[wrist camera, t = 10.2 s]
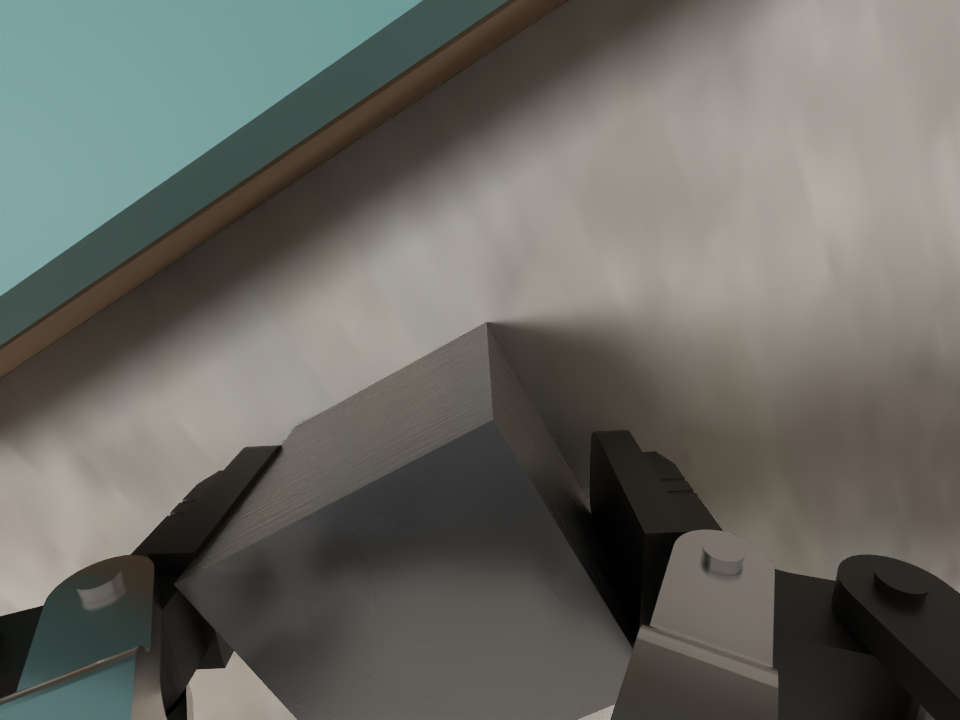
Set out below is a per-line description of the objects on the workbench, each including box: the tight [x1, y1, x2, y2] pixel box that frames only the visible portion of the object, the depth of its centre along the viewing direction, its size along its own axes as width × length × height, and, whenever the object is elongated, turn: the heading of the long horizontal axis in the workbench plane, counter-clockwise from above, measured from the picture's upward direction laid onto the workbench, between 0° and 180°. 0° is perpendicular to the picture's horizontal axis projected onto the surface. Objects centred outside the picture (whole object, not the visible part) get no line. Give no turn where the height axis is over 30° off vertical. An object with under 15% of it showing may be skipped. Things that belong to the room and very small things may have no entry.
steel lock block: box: [174, 322, 636, 720], centre depth 10 cm, size 5×5×5 cm
